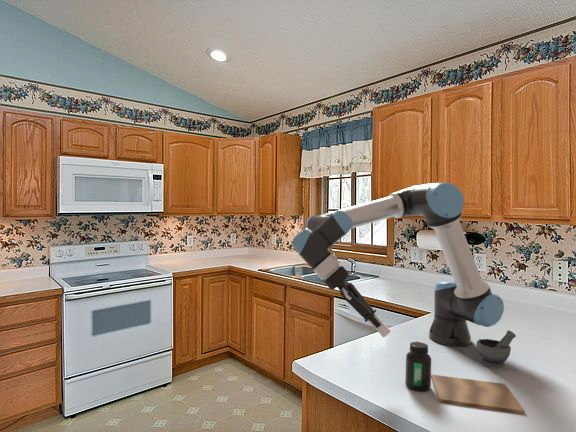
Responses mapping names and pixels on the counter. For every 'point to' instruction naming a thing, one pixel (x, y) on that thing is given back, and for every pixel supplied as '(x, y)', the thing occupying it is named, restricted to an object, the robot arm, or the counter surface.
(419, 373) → the supplement bottle
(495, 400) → the cutting board
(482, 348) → the mortar and pestle
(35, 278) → the counter surface
